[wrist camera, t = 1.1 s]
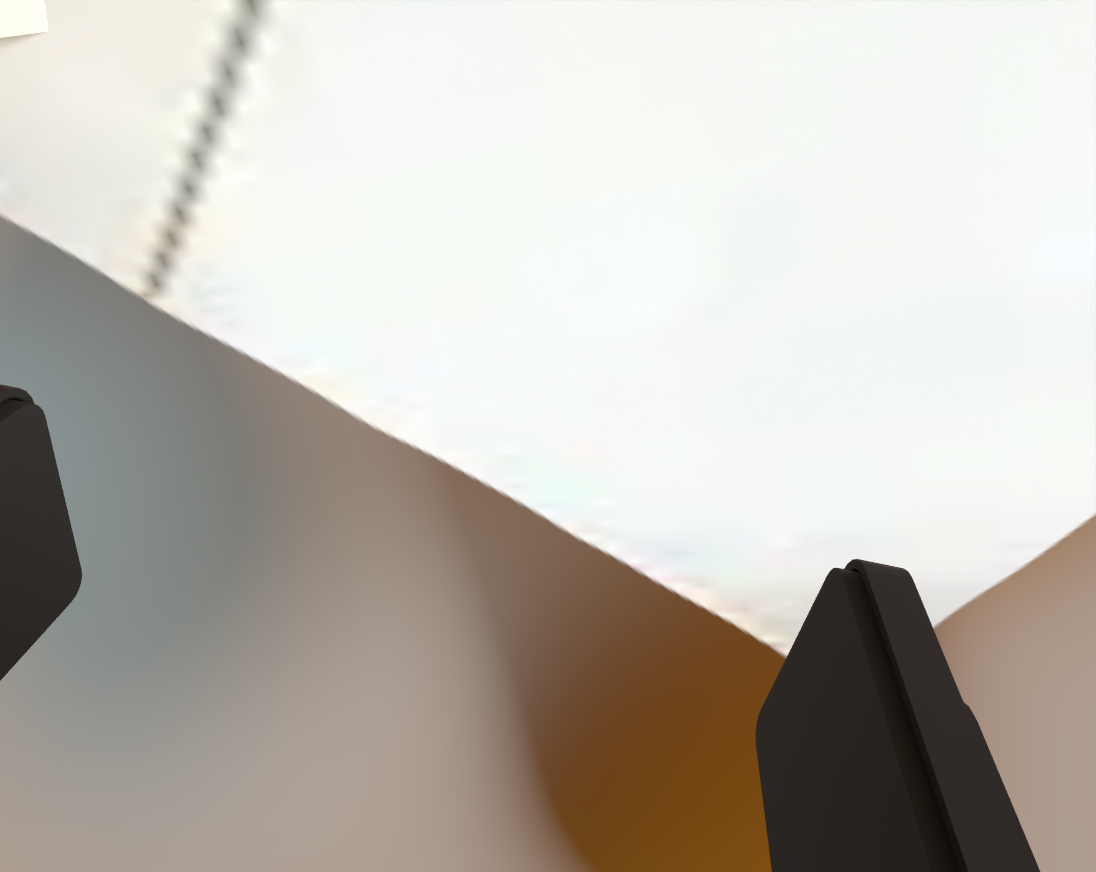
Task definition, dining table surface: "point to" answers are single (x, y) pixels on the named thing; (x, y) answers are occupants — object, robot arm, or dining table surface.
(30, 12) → the cream brick
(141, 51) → the dining table surface
